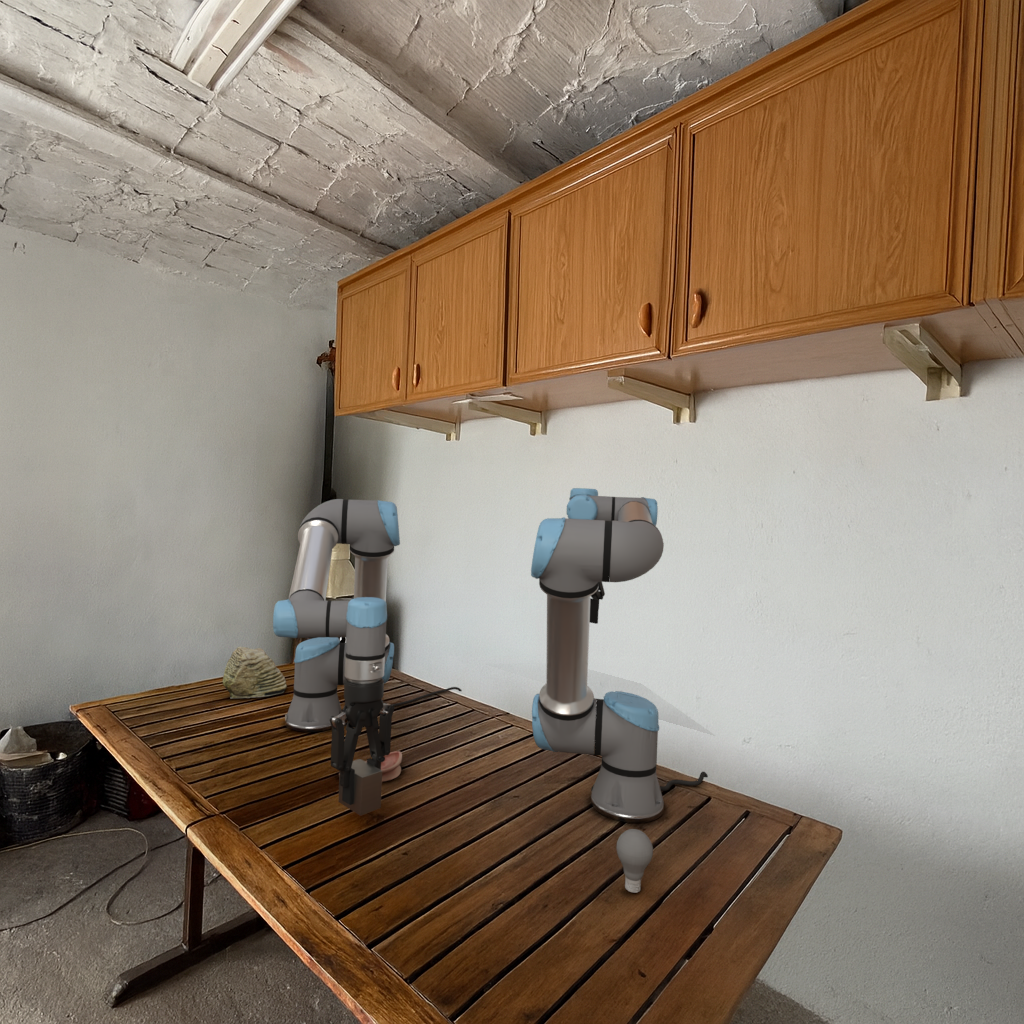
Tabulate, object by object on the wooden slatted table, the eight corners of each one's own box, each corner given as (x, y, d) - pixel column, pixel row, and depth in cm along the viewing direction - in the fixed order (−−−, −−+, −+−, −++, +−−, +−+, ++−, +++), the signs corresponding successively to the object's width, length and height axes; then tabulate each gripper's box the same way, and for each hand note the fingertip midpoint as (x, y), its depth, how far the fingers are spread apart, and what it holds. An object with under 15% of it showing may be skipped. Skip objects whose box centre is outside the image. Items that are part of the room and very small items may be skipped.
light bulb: (610, 879, 108) (613, 822, 108) (644, 879, 109) (647, 822, 109) (619, 902, 102) (622, 840, 102) (655, 901, 103) (658, 840, 103)
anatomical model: (332, 762, 141) (355, 743, 152) (332, 780, 141) (355, 759, 153) (388, 770, 139) (407, 750, 150) (388, 788, 139) (407, 766, 150)
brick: (338, 801, 124) (339, 764, 124) (358, 794, 127) (360, 758, 127) (360, 816, 119) (361, 777, 119) (381, 808, 122) (382, 770, 122)
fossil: (218, 695, 195) (220, 647, 195) (278, 685, 208) (279, 640, 207) (228, 703, 189) (230, 653, 188) (289, 692, 201) (290, 645, 201)
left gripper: (334, 691, 114) (329, 820, 114) (412, 674, 127) (408, 790, 127) (312, 682, 119) (308, 805, 119) (390, 667, 132) (385, 778, 132)
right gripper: (564, 548, 157) (560, 634, 157) (619, 546, 175) (616, 622, 176) (540, 546, 162) (537, 628, 162) (597, 544, 180) (593, 618, 181)
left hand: (359, 797), depth 123 cm, fingers closed on brick, 5 cm apart
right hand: (578, 625), depth 169 cm, fingers open, 13 cm apart
